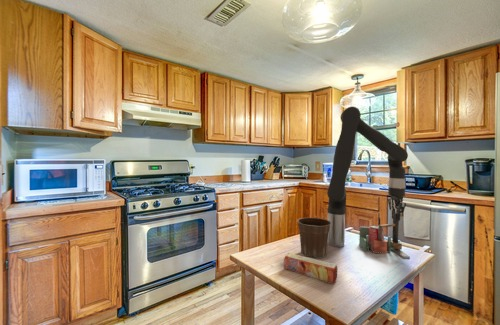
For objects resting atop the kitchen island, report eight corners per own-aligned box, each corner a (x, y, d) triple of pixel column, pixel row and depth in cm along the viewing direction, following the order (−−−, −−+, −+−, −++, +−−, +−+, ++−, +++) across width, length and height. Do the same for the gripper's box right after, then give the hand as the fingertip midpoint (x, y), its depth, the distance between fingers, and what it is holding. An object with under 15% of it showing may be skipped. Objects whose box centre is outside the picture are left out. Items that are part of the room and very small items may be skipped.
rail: (403, 258, 113) (403, 256, 113) (387, 246, 128) (387, 244, 128) (409, 258, 113) (409, 256, 113) (393, 246, 128) (393, 244, 128)
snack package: (282, 270, 100) (282, 254, 99) (289, 264, 105) (289, 249, 105) (333, 287, 87) (333, 268, 87) (338, 279, 92) (338, 262, 92)
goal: (366, 251, 121) (366, 232, 121) (359, 244, 130) (359, 226, 130) (390, 252, 120) (391, 233, 120) (381, 245, 129) (382, 227, 129)
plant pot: (290, 253, 117) (290, 221, 116) (306, 244, 129) (306, 215, 128) (321, 263, 106) (322, 228, 105) (335, 253, 118) (336, 221, 117)
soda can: (382, 248, 126) (382, 225, 125) (384, 253, 119) (385, 229, 119) (367, 246, 128) (368, 224, 128) (369, 250, 121) (369, 227, 121)
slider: (374, 252, 118) (375, 209, 118) (367, 246, 127) (368, 205, 126) (405, 254, 117) (406, 210, 117) (396, 247, 125) (397, 206, 125)
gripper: (382, 185, 130) (382, 216, 130) (396, 188, 116) (395, 223, 116) (397, 185, 129) (396, 216, 129) (412, 188, 115) (411, 223, 116)
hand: (395, 219), depth 123 cm, fingers closed on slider, 2 cm apart
